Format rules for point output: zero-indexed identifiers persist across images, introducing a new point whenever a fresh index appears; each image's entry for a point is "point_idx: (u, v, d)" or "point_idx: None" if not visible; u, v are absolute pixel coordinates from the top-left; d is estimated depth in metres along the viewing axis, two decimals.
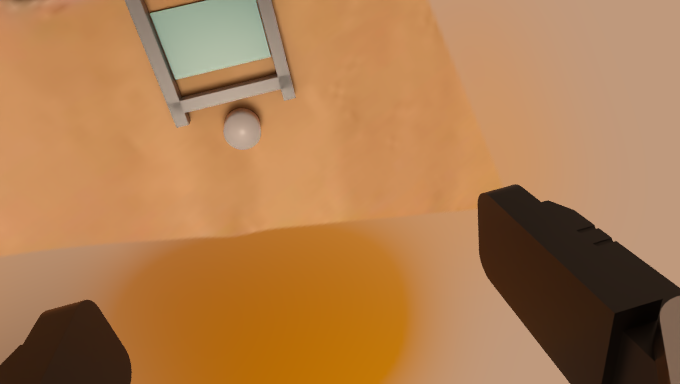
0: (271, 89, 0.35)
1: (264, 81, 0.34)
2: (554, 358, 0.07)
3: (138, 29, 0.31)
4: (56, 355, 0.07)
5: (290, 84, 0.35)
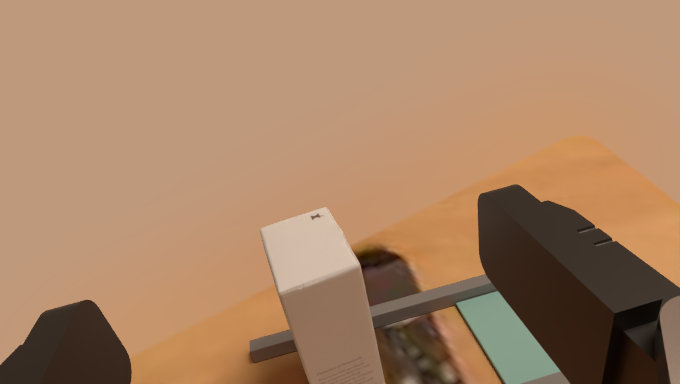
0: None
1: None
2: (554, 358, 0.07)
3: None
4: (56, 355, 0.07)
5: None
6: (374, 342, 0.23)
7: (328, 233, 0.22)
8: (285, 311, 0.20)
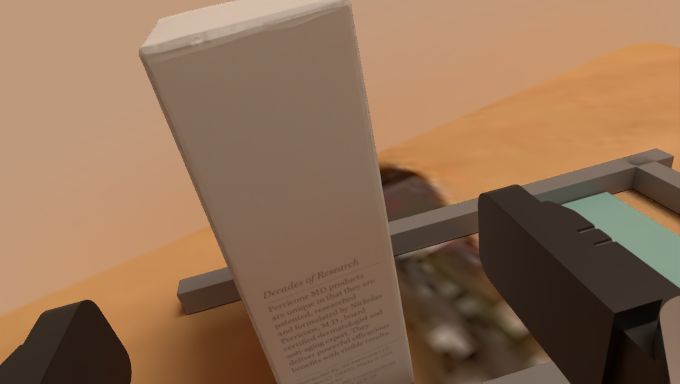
0: (666, 168, 0.20)
1: (658, 176, 0.19)
2: (554, 358, 0.07)
3: None
4: (56, 355, 0.07)
5: (637, 155, 0.21)
6: (385, 227, 0.11)
7: None
8: (165, 112, 0.08)
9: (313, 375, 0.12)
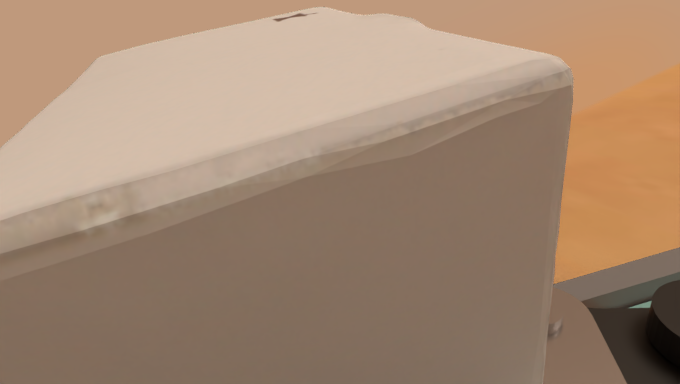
0: None
1: None
2: None
3: None
4: None
5: None
6: None
7: (337, 25, 0.05)
8: None
9: None
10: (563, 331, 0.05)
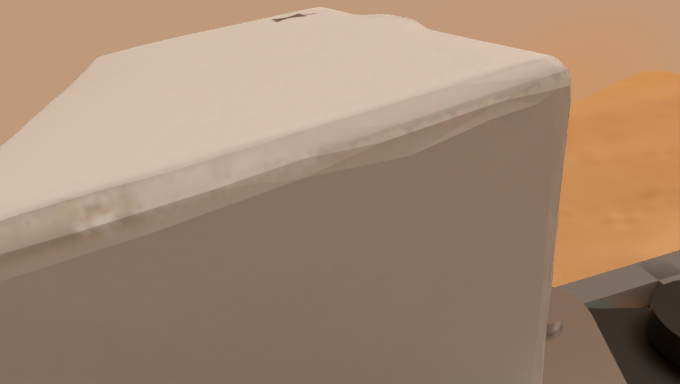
0: None
1: None
2: None
3: None
4: None
5: (659, 259, 0.16)
6: None
7: (336, 26, 0.05)
8: None
9: None
10: (563, 331, 0.05)
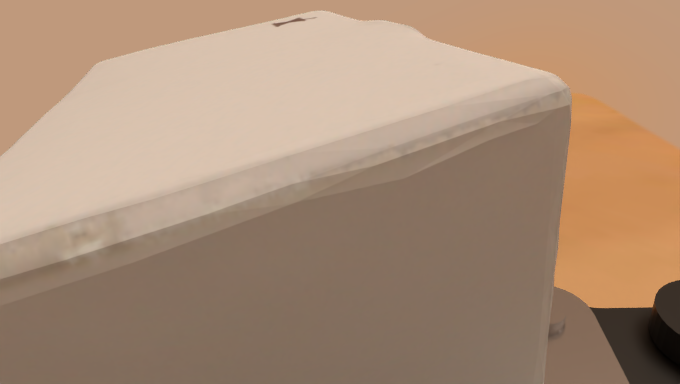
0: None
1: None
2: None
3: None
4: None
5: None
6: None
7: (335, 33, 0.05)
8: None
9: None
10: (565, 331, 0.05)
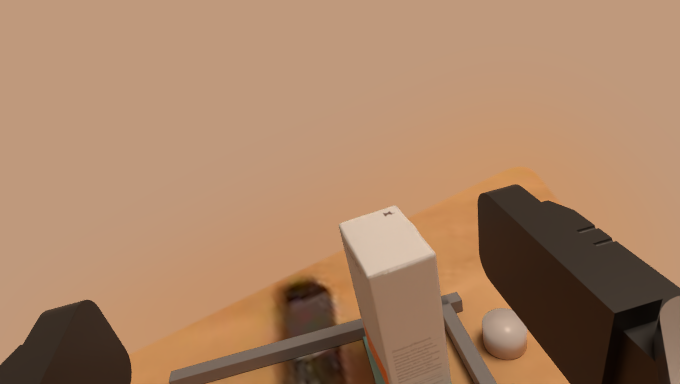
0: (451, 310, 0.34)
1: (444, 316, 0.33)
2: (554, 358, 0.07)
3: None
4: (56, 355, 0.07)
5: (443, 296, 0.35)
6: (442, 324, 0.26)
7: (402, 227, 0.26)
8: (371, 293, 0.23)
9: None
10: None
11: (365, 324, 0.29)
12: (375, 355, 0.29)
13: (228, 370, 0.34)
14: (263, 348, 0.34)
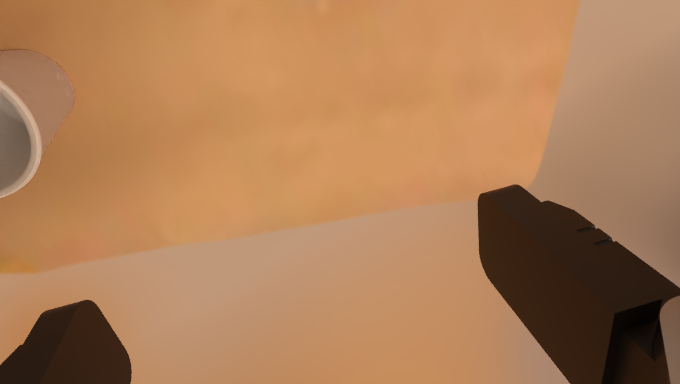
0: None
1: None
2: (554, 358, 0.07)
3: None
4: (56, 355, 0.07)
5: None
6: None
7: None
8: None
9: None
10: None
11: None
12: None
13: None
14: None
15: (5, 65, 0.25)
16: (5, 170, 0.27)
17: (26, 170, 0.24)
